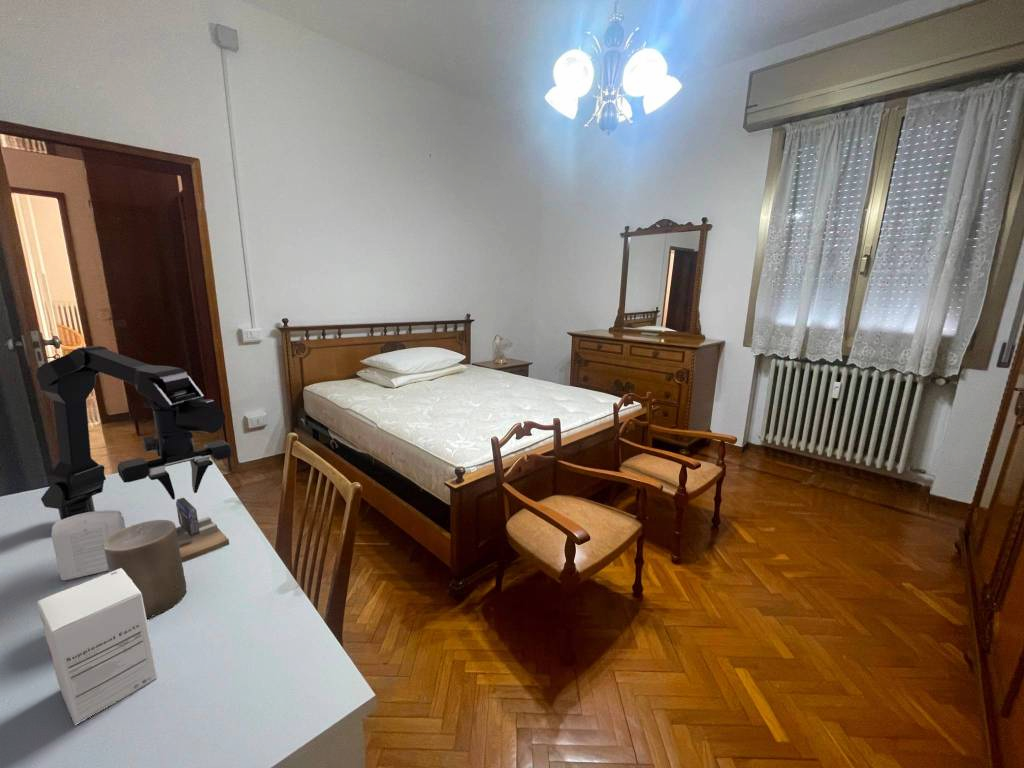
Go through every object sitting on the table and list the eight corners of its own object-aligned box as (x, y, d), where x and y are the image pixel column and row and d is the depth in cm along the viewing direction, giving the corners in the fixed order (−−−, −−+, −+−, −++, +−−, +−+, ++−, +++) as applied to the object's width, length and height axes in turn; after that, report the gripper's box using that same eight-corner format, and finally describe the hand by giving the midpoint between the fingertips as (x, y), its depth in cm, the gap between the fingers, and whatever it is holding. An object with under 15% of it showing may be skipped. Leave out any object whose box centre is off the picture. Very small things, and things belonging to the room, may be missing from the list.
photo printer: (133, 555, 88) (123, 502, 86) (129, 566, 85) (118, 511, 82) (64, 572, 83) (51, 515, 80) (57, 584, 79) (43, 526, 77)
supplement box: (58, 690, 59) (34, 599, 56) (139, 647, 66) (122, 565, 63) (73, 729, 54) (48, 632, 51) (159, 678, 61) (142, 591, 58)
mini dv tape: (179, 523, 95) (175, 499, 94) (187, 520, 97) (183, 497, 95) (191, 537, 91) (187, 512, 89) (199, 534, 92) (196, 509, 90)
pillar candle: (199, 590, 79) (187, 518, 76) (140, 628, 70) (124, 548, 67) (164, 578, 82) (152, 508, 79) (103, 613, 73) (86, 536, 70)
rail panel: (144, 543, 92) (142, 532, 92) (208, 521, 102) (207, 511, 101) (161, 570, 84) (158, 558, 83) (229, 544, 93) (227, 533, 92)
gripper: (212, 411, 100) (220, 471, 104) (106, 429, 86) (119, 498, 90) (229, 421, 93) (237, 485, 97) (116, 443, 79) (131, 517, 83)
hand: (184, 495), depth 92 cm, fingers open, 4 cm apart
